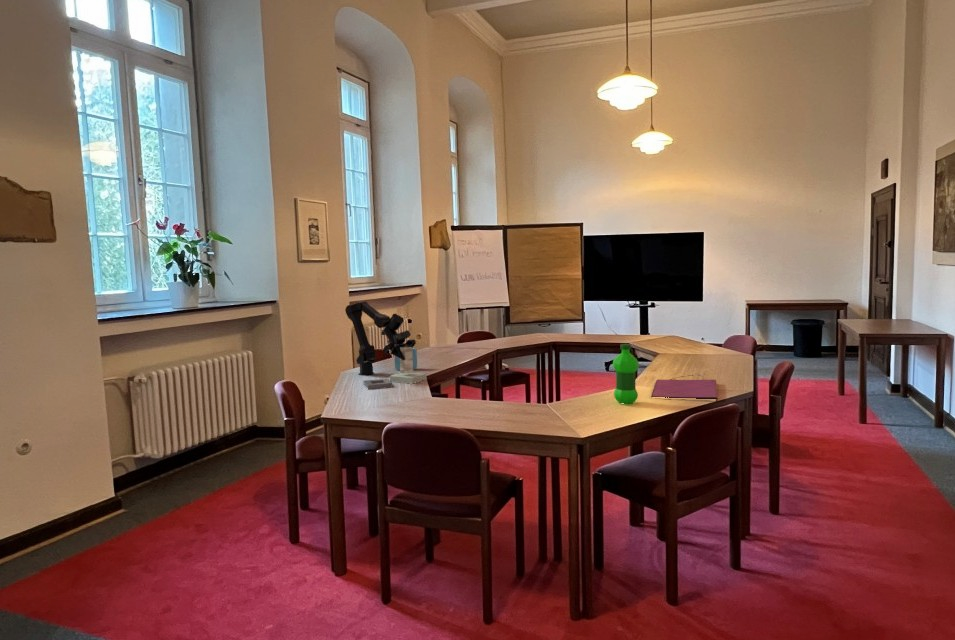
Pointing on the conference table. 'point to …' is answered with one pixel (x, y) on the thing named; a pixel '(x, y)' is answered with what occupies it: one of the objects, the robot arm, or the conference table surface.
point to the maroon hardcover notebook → (685, 389)
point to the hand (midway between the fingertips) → (408, 359)
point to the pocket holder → (377, 383)
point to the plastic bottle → (625, 375)
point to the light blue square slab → (414, 355)
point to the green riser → (408, 377)
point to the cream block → (406, 360)
